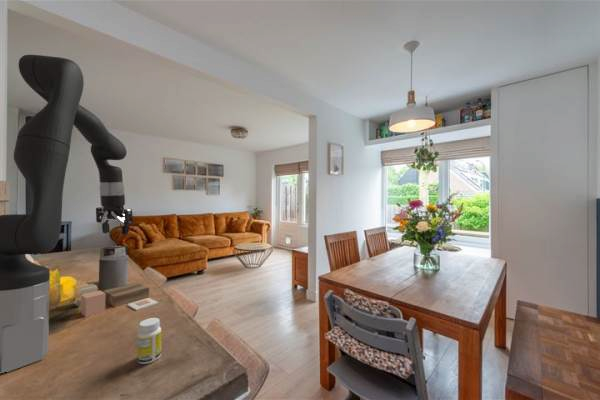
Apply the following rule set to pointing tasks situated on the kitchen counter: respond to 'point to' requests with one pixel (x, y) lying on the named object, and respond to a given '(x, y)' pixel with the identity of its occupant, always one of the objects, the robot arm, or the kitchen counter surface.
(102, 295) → the terracotta block
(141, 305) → the card
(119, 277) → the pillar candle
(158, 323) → the supplement bottle
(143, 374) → the kitchen counter surface
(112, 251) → the coffee box
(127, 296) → the walnut block
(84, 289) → the birch block
